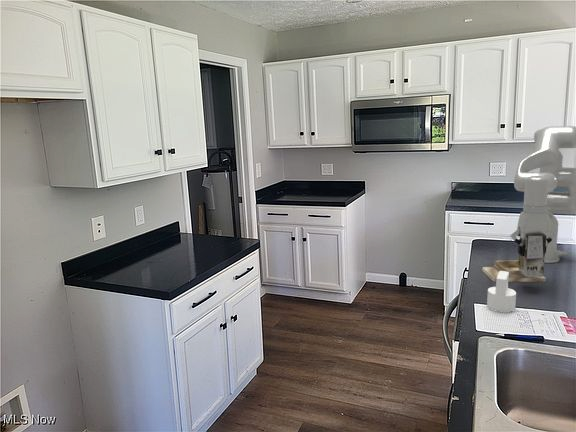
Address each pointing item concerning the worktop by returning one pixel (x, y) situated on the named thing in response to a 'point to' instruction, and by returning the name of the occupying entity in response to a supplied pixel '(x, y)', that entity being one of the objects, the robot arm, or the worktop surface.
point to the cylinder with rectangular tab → (501, 294)
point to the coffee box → (533, 256)
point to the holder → (513, 270)
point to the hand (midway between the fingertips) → (531, 254)
